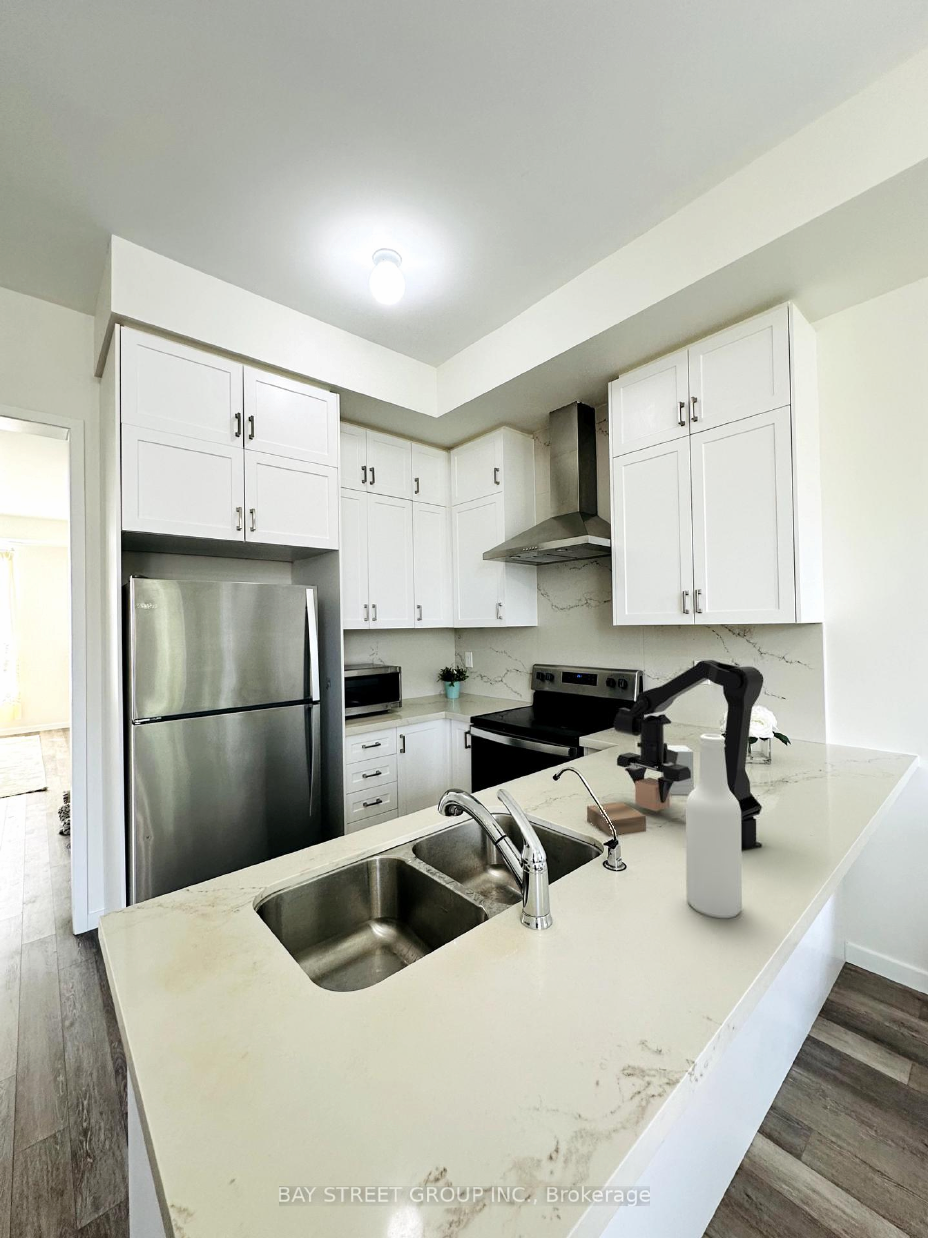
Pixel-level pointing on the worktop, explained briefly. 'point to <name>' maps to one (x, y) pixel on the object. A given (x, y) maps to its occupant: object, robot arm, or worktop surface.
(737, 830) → the alcohol
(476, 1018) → the worktop surface
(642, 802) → the terracotta cube
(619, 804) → the walnut block
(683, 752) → the supplement box
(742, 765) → the robot arm
